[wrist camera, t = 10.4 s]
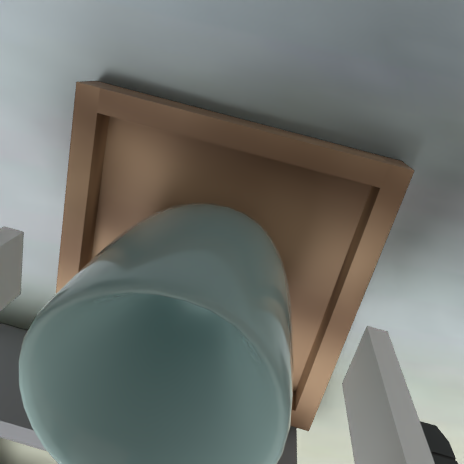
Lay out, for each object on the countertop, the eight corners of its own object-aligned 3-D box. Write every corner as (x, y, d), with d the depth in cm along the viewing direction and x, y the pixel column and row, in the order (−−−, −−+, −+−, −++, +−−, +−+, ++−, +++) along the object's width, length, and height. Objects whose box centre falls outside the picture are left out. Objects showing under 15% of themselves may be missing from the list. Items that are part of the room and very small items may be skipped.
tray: (97, 80, 19) (76, 81, 17) (402, 161, 19) (414, 170, 17) (67, 334, 24) (49, 356, 23) (307, 403, 24) (308, 431, 22)
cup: (289, 177, 19) (287, 278, 10) (295, 329, 22) (298, 521, 12) (122, 186, 20) (-21, 283, 11) (147, 329, 23) (48, 505, 14)
